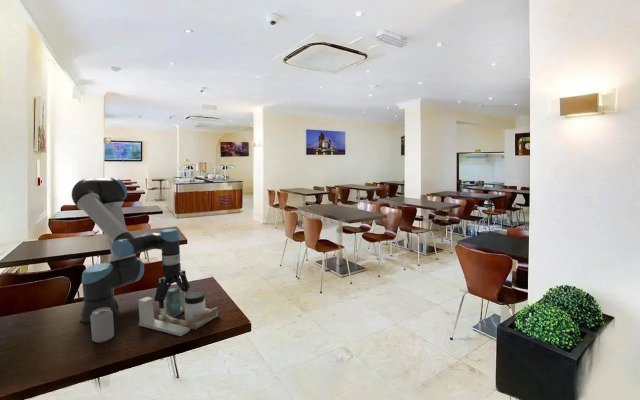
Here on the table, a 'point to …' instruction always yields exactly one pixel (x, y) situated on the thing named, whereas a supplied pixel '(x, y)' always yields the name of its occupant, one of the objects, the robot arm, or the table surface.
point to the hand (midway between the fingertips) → (173, 309)
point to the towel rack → (175, 310)
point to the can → (102, 324)
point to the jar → (194, 305)
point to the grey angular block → (148, 320)
